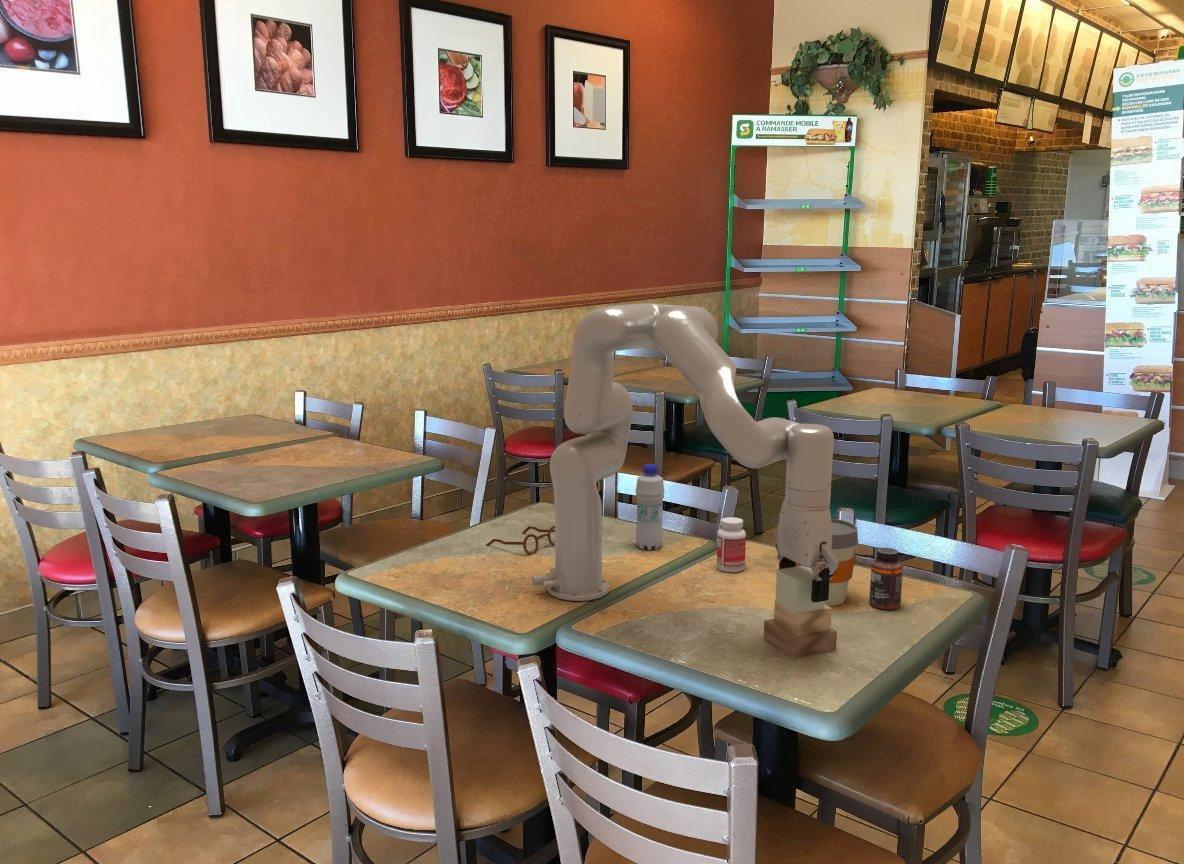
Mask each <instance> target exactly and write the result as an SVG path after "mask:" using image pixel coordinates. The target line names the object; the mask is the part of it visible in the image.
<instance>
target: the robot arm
mask: <svg viewBox="0 0 1184 864" xmlns="http://www.w3.org/2000/svg"><path fill="white" fill-rule="evenodd" d="M718 329H719V328H718V323H717V321H716V319H715V317H714V316H713V314H712V313H710V312H709V311H708V310H707V309H705V308H704V307H700V306H696V305H695V306H693V305H675V304H664V303H663V304H661V303H632V304H631V303H629V304H617V305H616V304H614V305H609V306H605V307H600V308H596V309H594V310H592V311H589V312H588V313H586V314H584V316H583V317H582V318H581V319H580V320H579V321H578V323H577V325H576V328H575V330H574V333H573V339H572V353H571V363H570V370H569V376H568V383H567V389H566V397H565V403H564V412H563V413H564V415H563V416H564V422H565V425H566V427H567V428H568V429H569V430H570V431H571V432H573V433H574V434H577V435H582V436H578V437H574V438H572V439H568V440H566V441H564V442H562V443H561V444H559V445H558V446H557V447H556V448H555V449H554V450H553V452H552V454H551V457H550V461H549V472H550V477H551V481H552V482H551V483H552V487H553V497H554V526H555V528H554V529H555V532H554V544H555V546H554V567H550V572H547V573H546V574H544V575H533V576H532V577H531V583H532V586H542V588H543V589H545V588H547V592H548V594H550V596H552V597H554V598H557V599H559V600H564V601H571V602H572V601H573V602H584V601H585V602H586V601H593V600H597V599H600V598H603V597H605V596H606V595H607V594H608V593H609V591H610V583H608V581H607V580H606V579H603V578H602V577H603V576H602V573H603V572H602V571H603V570H602V569H603V568H602V566H603V560H602V559H603V556H602V555H603V505H602V499H601V495H600V494H599V491H598V487H597V482H598V481H601V480H605V479H606V478H607V479H608V478H609V477H611V476H613V475H615V474H616V473H618V472H619V471H620V470H621V468H622V467H623V465H624V462H625V460H626V455H627V451H628V450H627V449H628V446H629V445H628V444H629V437H630V432H631V426H632V425H631V424H632V420H633V412H634V411H633V409H634V408H633V402H632V399H631V395H630V392H629V391H628V390H627V389H626V388H625V386H624V385H622V384H621V383H619V382H615V381H613V380H614V377H615V376H614V375H615V369H616V368H615V359H614V356H613V353H615V352H617V351H619V352H620V351H628V350H635V349H641V348H658V349H659V350H660V351H661V353H662V354H663V355H664V356H665V357H666V358H667V360H668V361H669V362H670V363H671V364H672V365H673V367H674V368H675V369H676V370H677V372H678V373H679V374H680V375H681V376H682V378H683V379H684V380H685V381H686V382H687V383H688V385H689V386H690V387H691V388H692V389H693V390H694V392H695V393H696V394H697V397H698V398H699V401H700V402H699V403H700V407H701V410H702V413H703V415H704V418H705V421H706V423H707V426H708V428H709V429H710V431H711V433H712V434H713V436H714V437H715V438H716V439H717V440H718V441H719V443H720V444H721V445H722V447H723V448H724V449H725V450H726V451H727V452H728V454H729V455H730V456H731V457H732V458H733V459H734V460H736V462H738V463H739V464H740V465H743V466H744V467H746V468H749V469H760V468H763V467H766V466H769V465H770V464H772V463H776V462H779V461H783V460H786V473H785V474H786V475H785V476H786V479H785V491H784V492H785V494H784V495H785V497H784V499H783V502H782V503H781V508H780V512H779V519H778V525H777V526H778V527H777V528H778V529H777V531H774V533H773V537H774V542H775V549H776V552H777V556H776V557H777V561H778V569H785V568H791V567H796V563H798V564H800V565H802V566H804V567H810V566H811V569H812V572H813V575H814V577H815V579H813V580H812V592H811V601H812V602H814V603H816V602H822V601H827V600H828V599H829V583H830V579H832V576H833V575H834V574H835V573H836V569H837V567H838V565H839V560H838V558H837V557H836V556H835V554H834V553H833V552H832V525H831V518H832V516H831V508H830V507H831V493H832V492H831V489H832V476H833V475H832V474H833V455H834V441H835V440H834V439H835V438H834V437H835V436H834V433H833V430H832V428H830V427H829V426H827V425H824V424H817V423H800V422H797V421H792V420H789V419H786V418H782V417H767V418H764V419H762V420H758V421H756V420H755V419H754V418H753V417H752V416H751V414H750V413H749V412H748V411H747V409H745V407H744V406H743V404H742V402H741V401H740V400H739V398H738V396H737V395H738V394H737V393H736V389H735V378H736V374H737V366H736V364H735V362H734V361H733V360H732V358H731V357H730V356H729V355H728V354H727V353H726V351H725V350H723V348H722V347H721V346H720V345H719V344H718V343H717V341H716V340H717V337H718V334H719V333H718ZM816 561H817V562H816ZM820 566H822V568H823V570H822V571H821V572H820V571H819V569H818V567H820Z"/></svg>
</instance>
